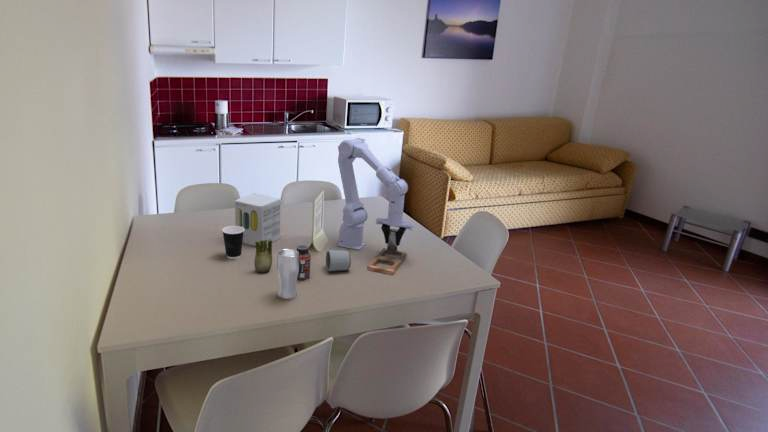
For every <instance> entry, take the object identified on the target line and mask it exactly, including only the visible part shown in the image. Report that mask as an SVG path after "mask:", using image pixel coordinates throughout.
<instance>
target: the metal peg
mask: <svg viewBox="0 0 768 432" xmlns="http://www.w3.org/2000/svg"><path fill="white" fill-rule="evenodd" d="M397 231H398V229H396V228H390V229H389V233H388V243H387V245H386V248H387V250H388V251H392V252H394V251H398V246H397V238H398V232H397Z"/></svg>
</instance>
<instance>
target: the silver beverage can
mask: <svg viewBox="0 0 768 432" xmlns="http://www.w3.org/2000/svg"><path fill="white" fill-rule="evenodd" d="M276 267H277V268H276V271H277V275H278V283H279V285H278V287H279V288H278V293H277V295H278V297H279V298H280V299H283V300H293V299H295V298H297V296H298V290H297V281H298V279H297V277H298V272H299V252H298V251H297V250H296V249H293V248H282V249H281V250H278V252H277V259H276Z"/></svg>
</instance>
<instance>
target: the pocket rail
mask: <svg viewBox="0 0 768 432" xmlns="http://www.w3.org/2000/svg"><path fill="white" fill-rule="evenodd" d="M386 254H387V255H392V256H398V258H394V257H393V258H392V257H389V256H385V255H386ZM407 255H408V252H407V251H402V250H397V251H394V252H392V251H388V250H387V247H383V248H382V249H381V250H380V251H379V252H378V254H376V256H375V257H374V258H373V259H372V261H370V263H369V264H368V265H367V267H366V268H367V269H366V270H367V271H371V272H376V273H380V274H383V275H384V274H386V275H390V276H393V275H394V274H395V273H396V272H397V271H398V269H399V268H400V266H401V265H402V263H403V262H404V260H405V259H406V257H407ZM378 263H380V264H385V265H390V266H391V268H387V267H381V266H376V265H377V264H378Z"/></svg>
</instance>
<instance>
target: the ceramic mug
mask: <svg viewBox="0 0 768 432" xmlns="http://www.w3.org/2000/svg"><path fill="white" fill-rule="evenodd" d="M351 265H352V257H351V253H350V252H349V250H338V249H337V250H334V249H328V250H327V251H326V254H325V267H326V271H328V272H337V271H348V270H349V269H350V267H351Z"/></svg>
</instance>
